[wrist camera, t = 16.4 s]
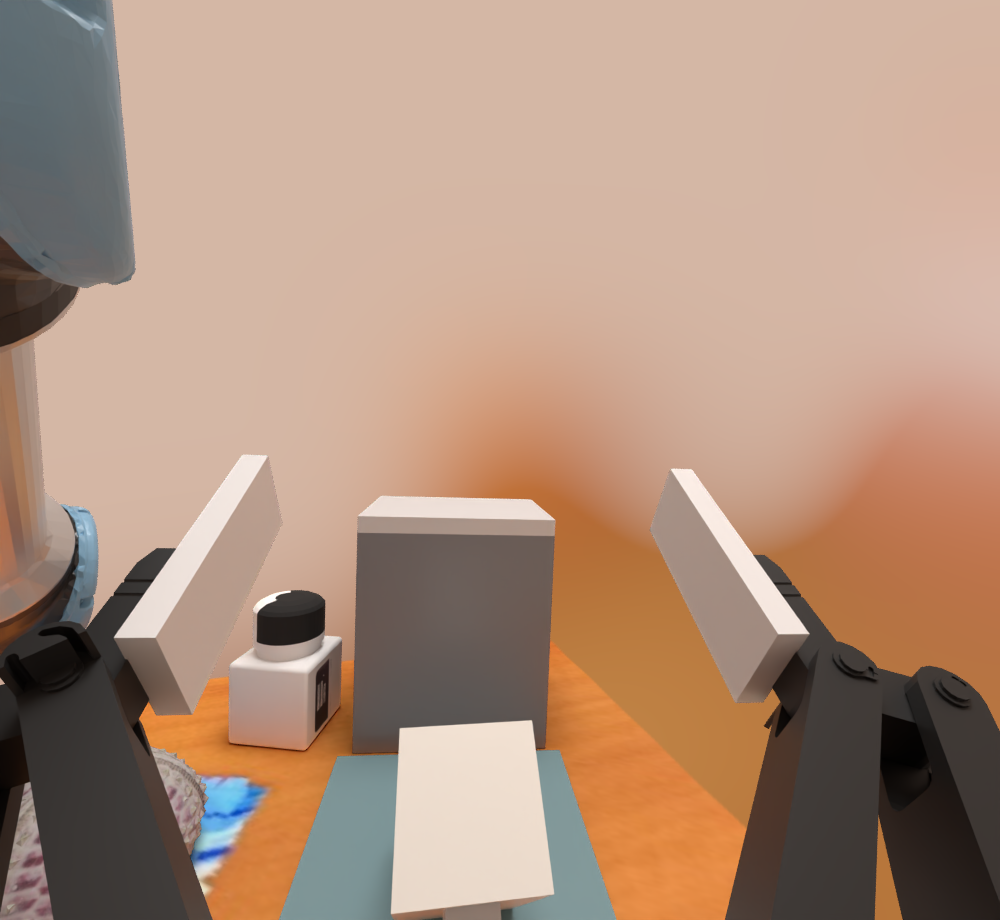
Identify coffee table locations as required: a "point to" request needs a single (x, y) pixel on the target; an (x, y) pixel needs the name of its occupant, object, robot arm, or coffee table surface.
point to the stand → (451, 616)
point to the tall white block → (468, 822)
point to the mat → (370, 849)
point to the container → (285, 674)
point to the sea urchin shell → (26, 881)
